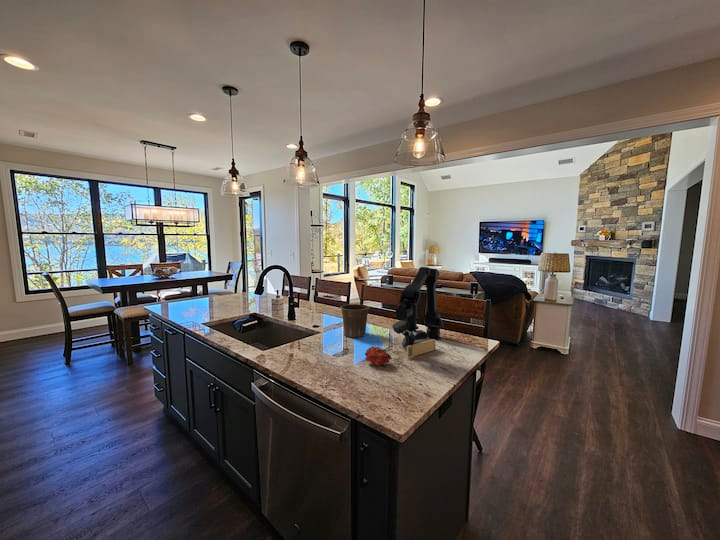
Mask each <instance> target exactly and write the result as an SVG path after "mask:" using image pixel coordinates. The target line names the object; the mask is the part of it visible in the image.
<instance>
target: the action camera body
mask: <svg viewBox="0 0 720 540" xmlns="http://www.w3.org/2000/svg"><path fill="white" fill-rule="evenodd" d="M428 340H432V339H430V338H428V337H427V339H420V340H415V341H414V343H413V344H417V343H421V342H424V341H428ZM401 345H402V348H403V349H404V350H406V351H407V346H408V345H407V342H406V338H405V337H403V341H402V343H401Z"/></svg>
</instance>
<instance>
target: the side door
mask: <svg viewBox="0 0 720 540" xmlns="http://www.w3.org/2000/svg"><path fill="white" fill-rule="evenodd" d="M435 350H436V339H432V340H428V341H424V342H421V343H417V344H413V345H409V346H407V350H406V358H407V359H408V358H409V359H410V358H412V357H416V356H419V355H422V354H425V353H426V354H427V353H428V352H429V353H430V352H432V351H435Z"/></svg>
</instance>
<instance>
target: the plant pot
mask: <svg viewBox="0 0 720 540" xmlns="http://www.w3.org/2000/svg"><path fill="white" fill-rule="evenodd" d="M340 309H341V315H342V325H343V335H344V336H346V337H349V338H359V337H360V338H362V337H364V336H366V334H367V333H366V331H367V321H368V314H369V309H370V305H366V304H362V303H361V304H360V303H359V304H358V303H351V304H343V305H341V306H340Z"/></svg>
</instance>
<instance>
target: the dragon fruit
mask: <svg viewBox="0 0 720 540" xmlns="http://www.w3.org/2000/svg"><path fill="white" fill-rule="evenodd" d="M364 355H365V358H364V360H366V361H368V362H369V363H370V364H371V366H373V367H374V366H379V367H380V368H383V367H386V365H385V364H389V362H390V360H393V359H392V356H391V354H389V353H387V351H386V350H385V349H383V348H380V346H377V347H376V346H373V345H372V346H371V347H368V349H366V351H365V353H364Z"/></svg>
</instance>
